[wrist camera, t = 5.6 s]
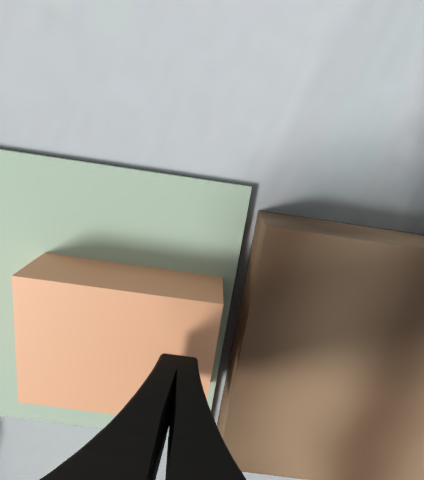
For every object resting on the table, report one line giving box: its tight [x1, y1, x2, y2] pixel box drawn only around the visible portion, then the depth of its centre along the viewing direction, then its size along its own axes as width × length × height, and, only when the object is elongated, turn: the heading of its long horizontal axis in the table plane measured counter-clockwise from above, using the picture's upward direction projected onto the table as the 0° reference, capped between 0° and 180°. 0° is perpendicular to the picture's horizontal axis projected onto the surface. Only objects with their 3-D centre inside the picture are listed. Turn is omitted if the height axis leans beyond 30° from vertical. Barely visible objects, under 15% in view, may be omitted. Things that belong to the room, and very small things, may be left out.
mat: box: [0, 149, 252, 437], centre depth 16 cm, size 14×14×1 cm
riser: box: [217, 211, 424, 480], centre depth 15 cm, size 14×12×2 cm
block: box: [12, 253, 224, 415], centre depth 15 cm, size 8×6×2 cm
